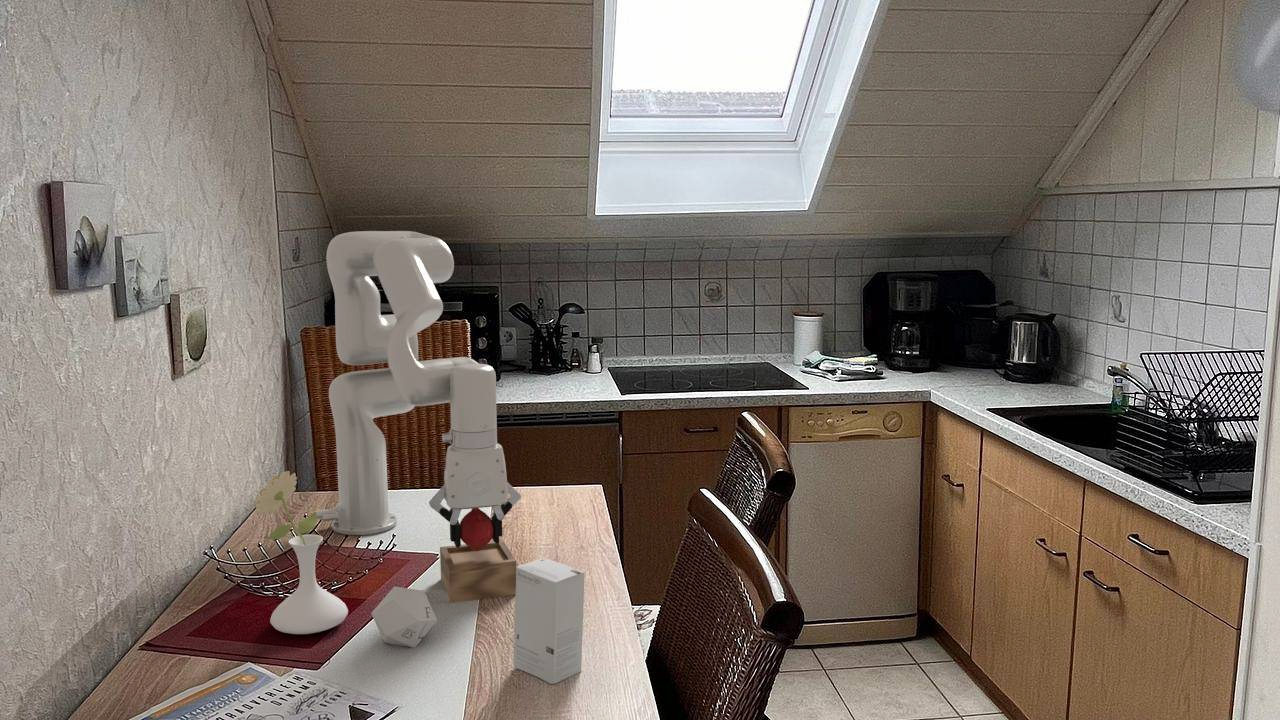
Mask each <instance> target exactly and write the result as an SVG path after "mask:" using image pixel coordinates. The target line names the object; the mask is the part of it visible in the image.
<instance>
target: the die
mask: <svg viewBox="0 0 1280 720" xmlns="http://www.w3.org/2000/svg"><path fill="white" fill-rule="evenodd" d="M370 614H371V616H372V618H373V621H374V622H375V625H376V627H377V629H378V630H379V633H380V635H381V638H382V639H383V641H384V643H385V644H390V645H396V646H400V647H407V648H412V649H414V648H416V647H417V646H418V644H419V643H420V642H421V641H422V639H423V638H424V637H425V636H426V635H427V634H428V632H429V631H430V630H431V628H433V626H434V625H435V623H436V622H437V621H438V619H437V617H436V614H435V613H434V610H433V608H432V606H431V604H430V601H429V600H428V598H427V595H426V592H425V591H424V590H423V589H422V590H420V589H415V588H407V587H401V586H393V587H392V589H391V590H390V591H389V592H388V593H387V594H386V595H385V597H383V599H382V600H381V601H380V603H379V604H378V605H377V606H376V607H375V608H374V610H372V611H371V613H370Z"/></svg>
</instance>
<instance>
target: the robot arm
mask: <svg viewBox="0 0 1280 720" xmlns="http://www.w3.org/2000/svg"><path fill="white" fill-rule="evenodd" d="M325 260H326V267H327V273H328V276H329V279H330V282H331V285H332V289H333V293H334V301H335V302H334V310H335V311H334V315H335V317H334V319H335V320H334V321H335V323H334V324H335V326H334V327H335V346H336V352H337V357H338V359H339V360H340V361H341V362H342V363H343V364H345V365H349V366H368V365H376V364H386V363H387V364H388V367H387V368H386V367H385V368H378V369H365V370H356V371H350V372H345V373H342V374H340V375H338V376H336V377H335V378H334V379H333V380H332V381H331V382H330V384H329V388H328V399H329V404H330V408H331V409H330V410H331V413H332V418H333V423H334V432H335V445H336V447H335V448H336V460H337V461H336V462H337V465H336V467H337V484H338V485H337V486H338V502H337V503H336V504H337V505H336V506H333V507H332V508H330V509H323V508H322V509H316V510H315V512H316V515H317V521H318V520H322V522H330V521H332V523H331V529H332V530H333V532H336V533H338V534H341V535H346V536H347V535H349V536H365V535H366V536H368V535H374V534H379V533H382V532H385V531H389V530H391V529H392V528H394V527H395V526H396V525H397V524H398V520H397V517H396V515H394V514H392V513H390V512H389V496H388V495H389V491H388V489H389V488H388V487H389V486H388V468H387V467H388V466H387V462H388V461H387V444H386V443H387V442H386V438H385V435H384V434H383V432H382V431H381V429H380V428H379V427H378V426H377V424H375V422H374V419H375V418H380V417H386V416H393V415H398V414H399V415H400V414H405V413H408V412H410V411H412V410H413V409H414V408H415V407H423V406H432V405H440V404H447V403H449V404H450V406H449V407H450V429H449V430H448V432H446V433H442V435H441V439H442V440H441V441H442V443H449V444H450V445H449V446H448V447H447V450H446V455H445V463H444V474H443V475H444V477H443V478H444V479H443V485H442V487H440V488H439V490H437V492H436V493H435V495H434V496H433V497H432V498H431V499H430V500H429V501H428V504H429V506H430V508H432V510H434V511H435V512H437V513H438V514H439V515H440V516H441V517H443V518H444V520H446V521H447V522H448V523H449V536H450V537H449V539H450V542H451V543H454V546H456V548H457V547H460V546H461V545H462V544H461V543H462V540H461V533H460V522H459V519H460V518H459V517H460V515H461V512H462V510H470V509H471V510H472V508H479V509H482V508H491V509H492V511H493V513H492V516H491V518H490V519H491V520H492V522H493V525H494V535H493V537H492V539H491V540H492V541H494V542H495V543H499V541H500V537H503V520H504V518H505V516H506V515H507V514H508V513H509V511H511V510H512V509H513V506H515V505H516V504H517V503H518V502H519V501H520V499H521V498H522V495H521V494H520V493H519V491H518V490H517V489H515V488H514V487H513V485H511V484H510V483H509V482H508V480H507V479H508V477H507V469H506V466H507V465H506V459H505V454H504V448H503V446H502V445H501V444H500V443H498V428H497V427H498V425H497V422H498V421H497V417H498V416H497V414H498V413H497V376H496V375H497V374H496V371H495V369H494V368H493V366H491V365H489V364H486V363H479V362H477V361H476V360H475V359H473V358H470V357H466V356H459V357H446V358H438V359H437V358H436V359H428V360H420V361H419V340H418V338H419V337H418V333H420V332H421V331H423V330H424V329H427V328H429V327H430V326H432V325H433V324H435V322H436V321H437V320H438V319H440V316H442V314H443V311H444V303H443V300H442V299H441V297H440V295H439V291H438V290H437V288H436V286H435V284H442V283H445V282H447V281H448V280H450V279H451V277H452V275H453V273H454V269H455V261H454V256H453V253H452V251H451V249H450V248H449V246H448V245H447V243H446V242H445V241H443V240H442V239H440V238H439V237H436V236H432V235H428V234H424V233H420V232H417V231H412V230H411V231H410V230H389V231H388V230H386V231H385V230H379V231H378V230H367V231H366V230H364V231H363V230H362V231H361V230H360V231H348V232H343V233H341V234H337V235H335V236H334V237H333V238H332V239H331V240H330V242H329V244H328V246H327V250H326V259H325ZM370 277H377V278H378V280H379V281H380V283H381V287H382V288H383V291H384V294H385V295H386V299H387V301H388V303H389V305H390V306H389V307H390V308H391V310H392V313H393V314H381V313H382V312H381V294H380V291H379V289H378V287H377V286H376V284H375V282H374V281H373V280H372V279H371V278H370ZM508 496H509V497H508ZM443 500H444V501H445V502H446V505H447V506H448V507H449V509H448V508H447V507H445V506H444V505H442V504H441V503H442V501H443Z"/></svg>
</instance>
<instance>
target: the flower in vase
mask: <svg viewBox="0 0 1280 720" xmlns="http://www.w3.org/2000/svg"><path fill="white" fill-rule="evenodd" d="M296 475H297V474H296V472H294V473H292V474H290V471H289V470H287V471H282V472H281V473H280V475H279V474H274V475H273V476H272V478H271V479H270V480H269V481H267V484H266V485H265V487H263V488H260V489H259V491H258V494H259V495H260V496H258V497H257V498H255V500H254V503H253V505H252V507H253V508H256V509H255V510H254V514H258V515H259V516H260V515H263V516H267V515H268V514H273V513H275V511H278V510H279V509H280V508H281V507H282V505H283V507H284V508H285V511H286V513H287V516H288V519H289V521H290V524H291V525H290V524H282V525H279V526H278V527H276V528H275V529H274V530H273V531H272V532H271V533H270V535H269V536H268V538H267V541H269V540H279V539H282V538H285V537H286V535H288V534H289V532H290V531H291V530H292V528H293V529H294V531H295V533H296V534H297V536H293V537H292V538H290V539H288V544H289V545H290V546H291V548H293V550H294V552H295V554H296V557H297V562H298V567H299V569H298V570H299V583H298V586H297V588H296V590H295V591H294V592H292V593H291V594H290V595H288V596H287V598H284V600H283V601H282V602H281V603H280V604H279V605H277V607H276V608H275V609H274V610H273V611H272V613H271V617H270V618H269V619H270V620H269V621H270V624H271V626H273V628H274V629H275V630H277V631H279V632H281V633H286V634H291V635H310V634H315V633H316V634H317V633H321V632H323V631H324V632H325V631H327V630H330V629H332V628H335V627H336V626H338V625H339V624H341V623H342V622H343V621H345V619H346V617H347V616H348V614H349V609H348V607H347V605H346V603H345V602H343V600H342V599H340V598H339V597H338V596H336V595H334V594H332V593H331V592H329V591H327V590H325V589H324V588H322V587H321V586H320V585H319V584H318V582H317V577H316V556H317V552H318V549H319V547H320V545H321V543H322V542H323V540H324V537H323V536H321V535H318V534H305V533H308V532H310V531H312V530H313V529H315V528H316V526H317V522H318V520H317V515H316V511H315V512H313V513H311V514H310V515H308V516H307V517H305V518H303V519H302V520H300V521H299V522H298V524H297V525H298V526H297V527H298V528H297V527H296V526H295V524H294V522H293V519H292V516H291V513H290V510H289V508H288V506H287V502H288V501H289V499H290V498H291V497H292V495H293V493H294V492H295V491H296V489H297V487H295V486H297V483H298V482H297V479H298V478H297V476H296ZM302 534H303V535H302Z"/></svg>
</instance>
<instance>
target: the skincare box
mask: <svg viewBox="0 0 1280 720" xmlns="http://www.w3.org/2000/svg"><path fill="white" fill-rule="evenodd" d="M584 594H585V572H584V571H581V570H578V569H576V568H574V567H571V566H568V565H567V564H565V563H562V562H557V561H555V560H552V559H548V558H546V557H542V558H539V559H535V560H532V561H531V562H527V563H524V564H521V565H516V594H515V604H514V605H515V606H514V610H515V611H514V637H513V640H514V641H513V667H514V668H515V669H518V671H519V670H520V671H522V672H525V673H527V674H530V675H532V676H534V677H537V678H539V679H541V680H543V681H545V682H546V683H548V684H550V685H555V684H558V683H559V682H562V681H563V680H566V679H569V678H570V677H572V676H574V675H576V674H578V673H580V672H582V656H583V654H582V653H583V630H584V629H583V627H584V625H583V624H584V623H583V622H584V598H585V597H584V596H585V595H584Z"/></svg>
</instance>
